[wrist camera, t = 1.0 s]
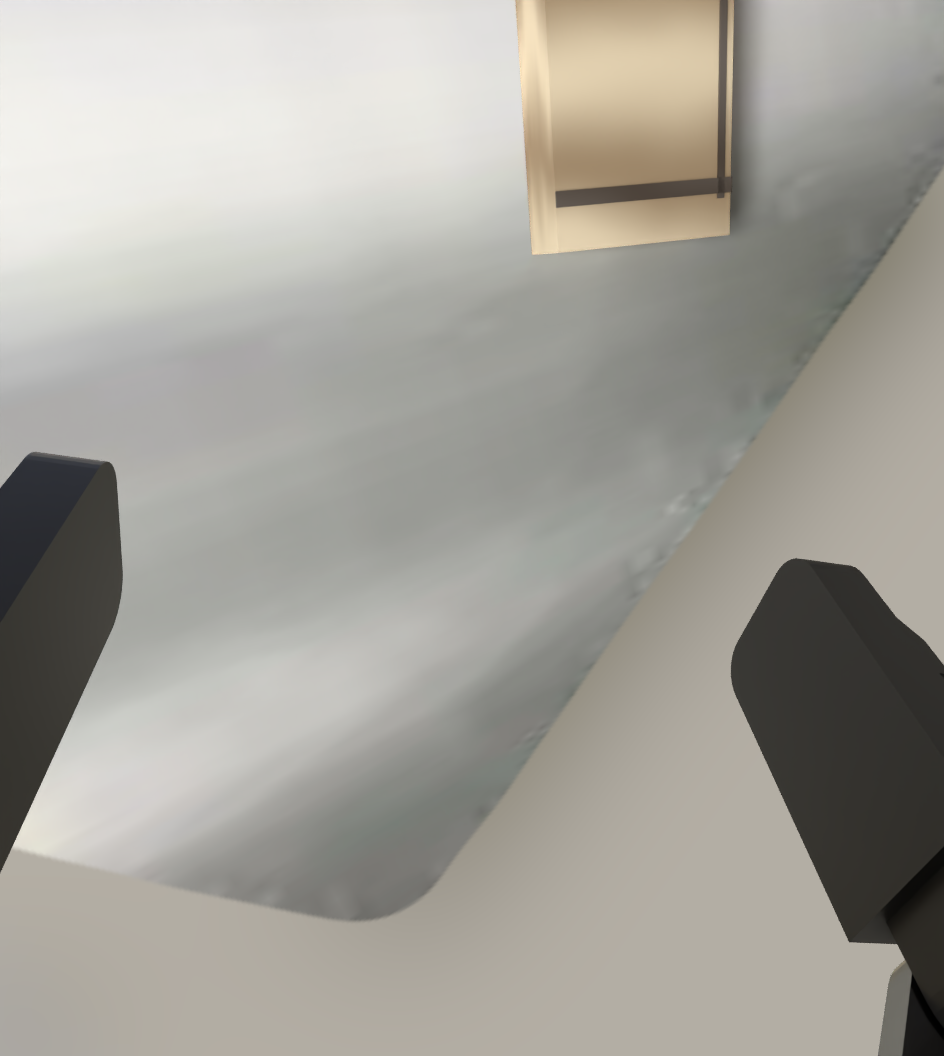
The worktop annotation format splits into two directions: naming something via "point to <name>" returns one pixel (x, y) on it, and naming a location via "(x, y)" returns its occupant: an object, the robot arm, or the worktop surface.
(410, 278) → the worktop surface
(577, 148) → the maple plank
